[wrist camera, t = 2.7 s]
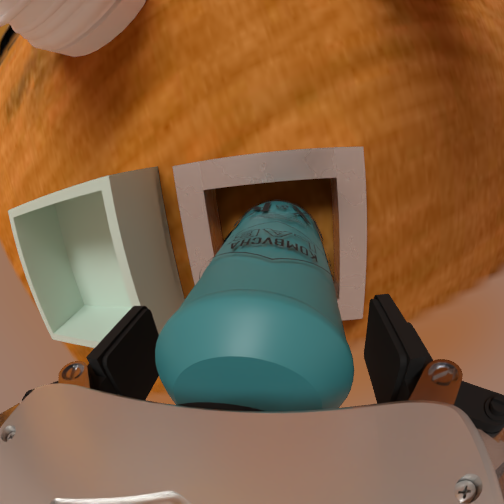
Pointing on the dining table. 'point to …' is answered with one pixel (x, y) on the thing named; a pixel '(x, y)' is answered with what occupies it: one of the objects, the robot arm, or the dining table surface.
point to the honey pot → (69, 22)
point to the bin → (98, 255)
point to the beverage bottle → (260, 323)
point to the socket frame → (274, 170)
